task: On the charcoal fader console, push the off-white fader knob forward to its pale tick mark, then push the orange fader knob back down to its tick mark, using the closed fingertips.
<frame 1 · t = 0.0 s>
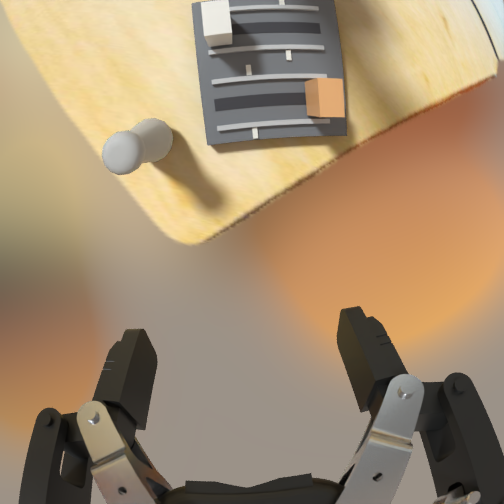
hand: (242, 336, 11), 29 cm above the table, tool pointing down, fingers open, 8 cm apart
salt shaker: (156, 137, 33), on the table
console: (270, 64, 29), on the table
fader 2: (217, 24, 22), point 5 cm above the table, slide at 0.0 cm
fader 1: (323, 97, 27), point 5 cm above the table, slide at 11.0 cm
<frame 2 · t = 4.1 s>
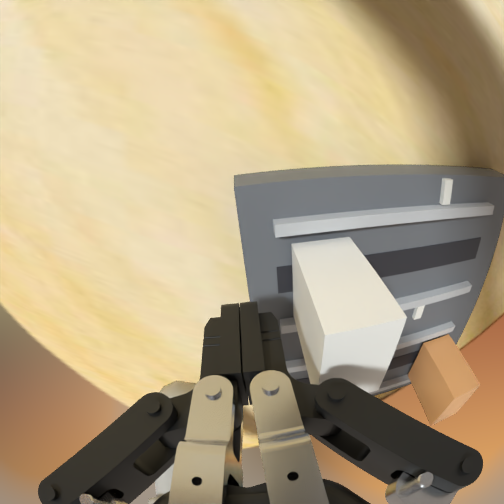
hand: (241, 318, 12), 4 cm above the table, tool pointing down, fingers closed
salt shaker: (186, 391, 22), on the table
console: (379, 305, 18), on the table
fader 2: (336, 317, 11), point 5 cm above the table, slide at 0.6 cm, touching gripper
fader 1: (441, 380, 16), point 5 cm above the table, slide at 11.0 cm
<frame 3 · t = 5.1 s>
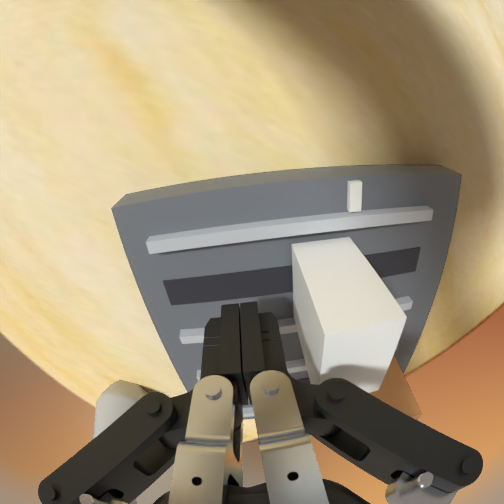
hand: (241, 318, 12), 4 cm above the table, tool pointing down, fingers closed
salt shaker: (131, 390, 22), on the table
console: (303, 319, 18), on the table
fader 2: (336, 317, 11), point 5 cm above the table, slide at 6.3 cm, touching gripper
fader 1: (381, 402, 16), point 5 cm above the table, slide at 11.0 cm
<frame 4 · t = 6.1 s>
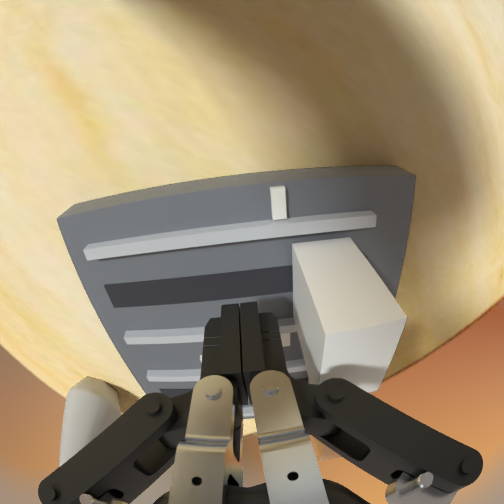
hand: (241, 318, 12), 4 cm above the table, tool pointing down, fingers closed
salt shaker: (99, 387, 22), on the table
console: (250, 326, 18), on the table
fader 2: (336, 317, 11), point 5 cm above the table, slide at 9.9 cm, touching gripper
fader 1: (334, 415, 16), point 5 cm above the table, slide at 11.0 cm
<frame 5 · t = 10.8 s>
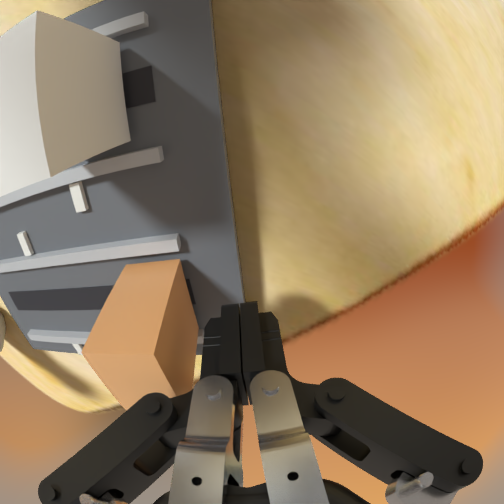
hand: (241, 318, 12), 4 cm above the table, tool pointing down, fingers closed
console: (73, 205, 13), on the table
fader 2: (56, 101, 6), point 5 cm above the table, slide at 9.9 cm
fader 1: (152, 338, 11), point 5 cm above the table, slide at 11.0 cm, touching gripper
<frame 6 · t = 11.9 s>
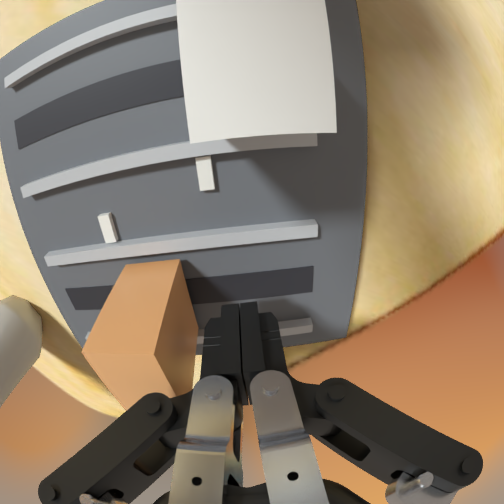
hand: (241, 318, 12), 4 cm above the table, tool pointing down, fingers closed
salt shaker: (26, 313, 17), on the table
console: (172, 186, 13), on the table
fader 2: (247, 54, 6), point 5 cm above the table, slide at 9.9 cm
fader 1: (152, 338, 11), point 5 cm above the table, slide at 4.8 cm, touching gripper
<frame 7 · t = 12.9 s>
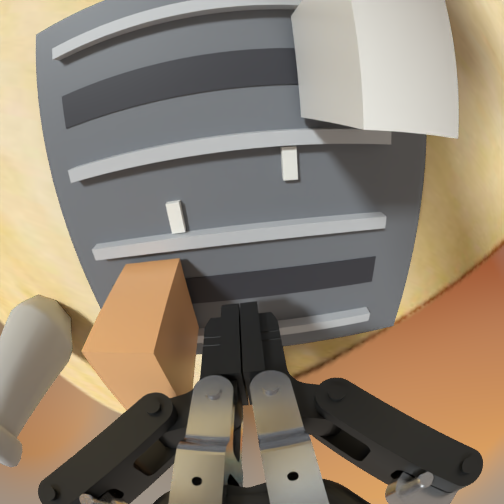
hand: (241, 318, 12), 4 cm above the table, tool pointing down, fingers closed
salt shaker: (52, 314, 17), on the table
console: (241, 176, 13), on the table
fader 2: (360, 55, 6), point 5 cm above the table, slide at 9.9 cm
fader 1: (152, 337, 11), point 5 cm above the table, slide at 1.4 cm, touching gripper
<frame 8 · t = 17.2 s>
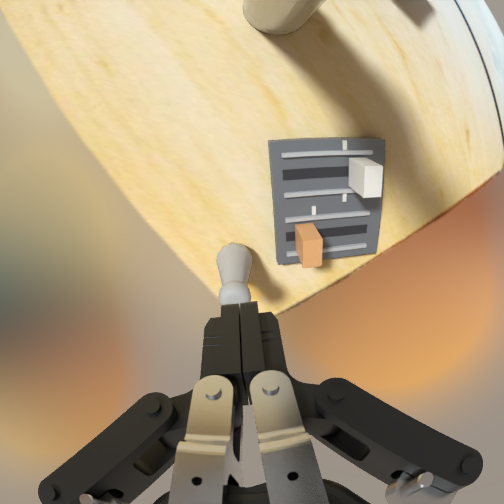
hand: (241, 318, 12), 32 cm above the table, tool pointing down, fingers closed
salt shaker: (234, 252, 47), on the table
console: (328, 198, 43), on the table
fader 2: (364, 176, 36), point 5 cm above the table, slide at 9.9 cm
fader 1: (308, 244, 41), point 5 cm above the table, slide at 1.3 cm
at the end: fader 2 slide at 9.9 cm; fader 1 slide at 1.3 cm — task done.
